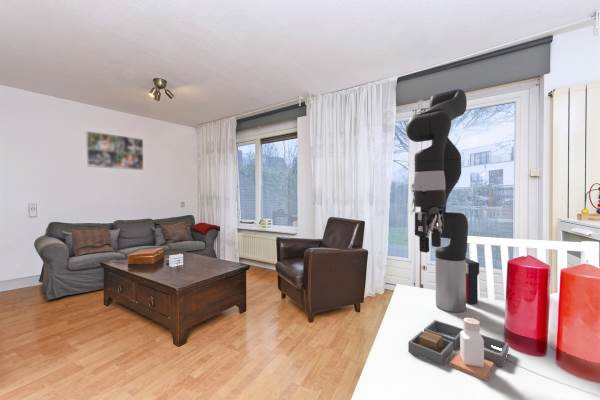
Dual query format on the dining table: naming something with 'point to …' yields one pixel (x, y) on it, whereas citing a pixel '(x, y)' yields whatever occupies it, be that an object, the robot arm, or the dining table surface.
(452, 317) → the dining table surface
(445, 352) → the bin with cube
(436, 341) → the walnut cube
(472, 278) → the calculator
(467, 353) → the salt shaker
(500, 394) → the dining table surface
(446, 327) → the empty bin
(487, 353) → the shaker bin
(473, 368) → the terracotta pad
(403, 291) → the dining table surface
